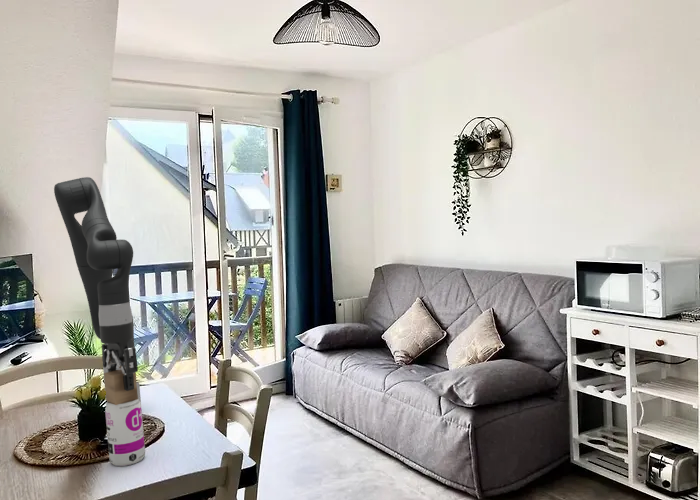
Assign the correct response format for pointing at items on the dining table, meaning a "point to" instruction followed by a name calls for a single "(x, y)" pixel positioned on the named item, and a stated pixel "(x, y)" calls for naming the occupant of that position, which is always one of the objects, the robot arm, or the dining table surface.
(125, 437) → the supplement can
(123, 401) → the beige wooden block
